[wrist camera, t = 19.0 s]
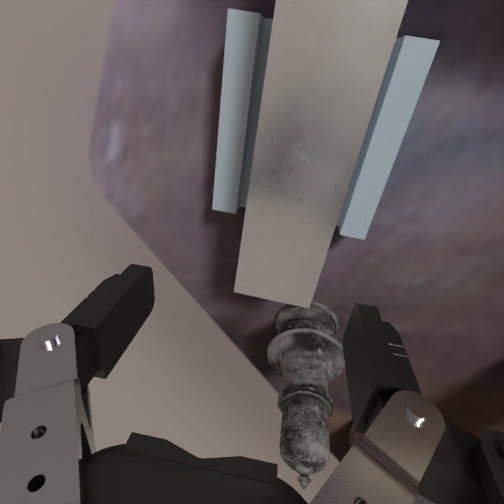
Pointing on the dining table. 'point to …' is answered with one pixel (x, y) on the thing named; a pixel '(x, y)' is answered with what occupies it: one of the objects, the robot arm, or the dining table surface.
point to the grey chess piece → (306, 383)
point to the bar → (310, 137)
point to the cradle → (248, 109)
